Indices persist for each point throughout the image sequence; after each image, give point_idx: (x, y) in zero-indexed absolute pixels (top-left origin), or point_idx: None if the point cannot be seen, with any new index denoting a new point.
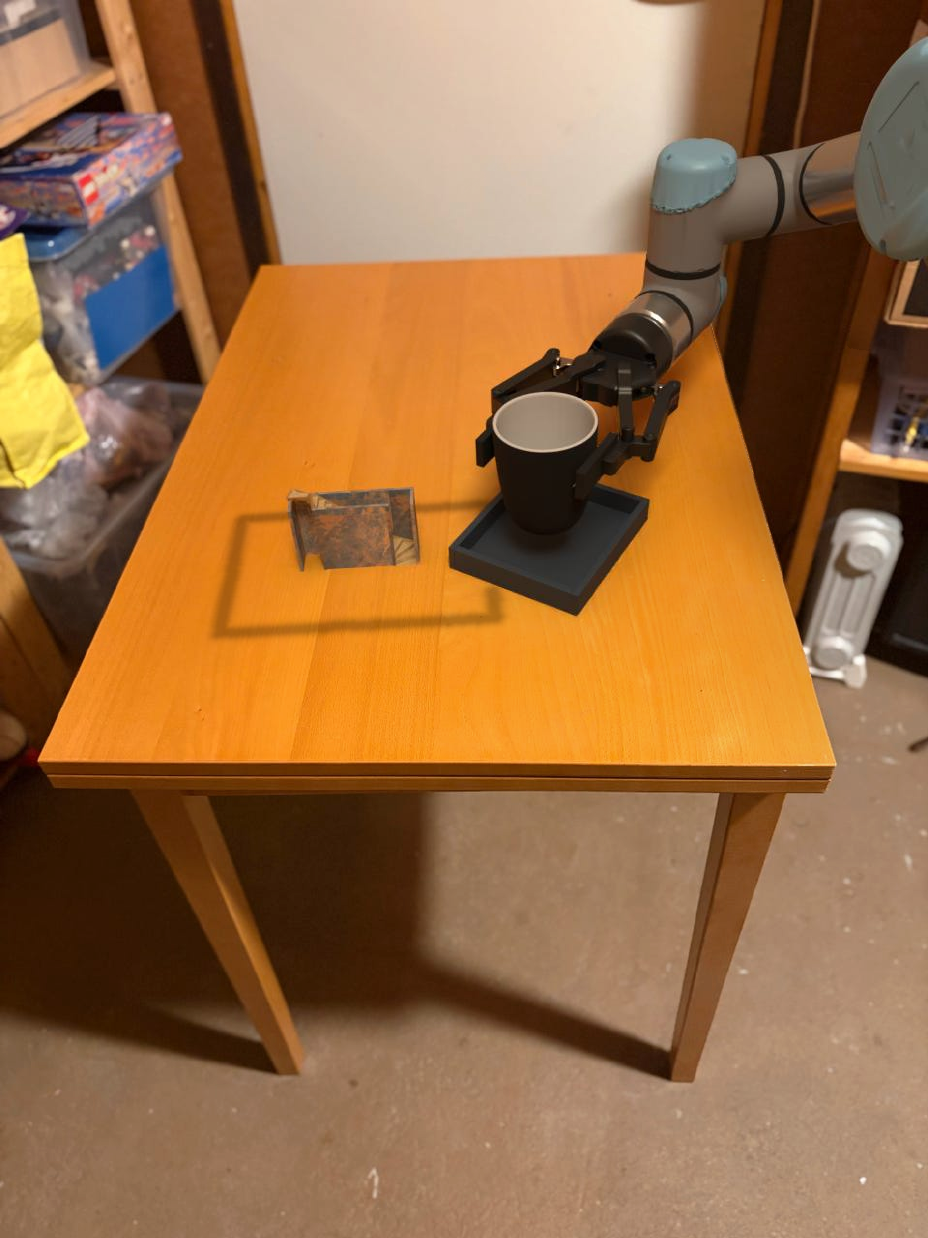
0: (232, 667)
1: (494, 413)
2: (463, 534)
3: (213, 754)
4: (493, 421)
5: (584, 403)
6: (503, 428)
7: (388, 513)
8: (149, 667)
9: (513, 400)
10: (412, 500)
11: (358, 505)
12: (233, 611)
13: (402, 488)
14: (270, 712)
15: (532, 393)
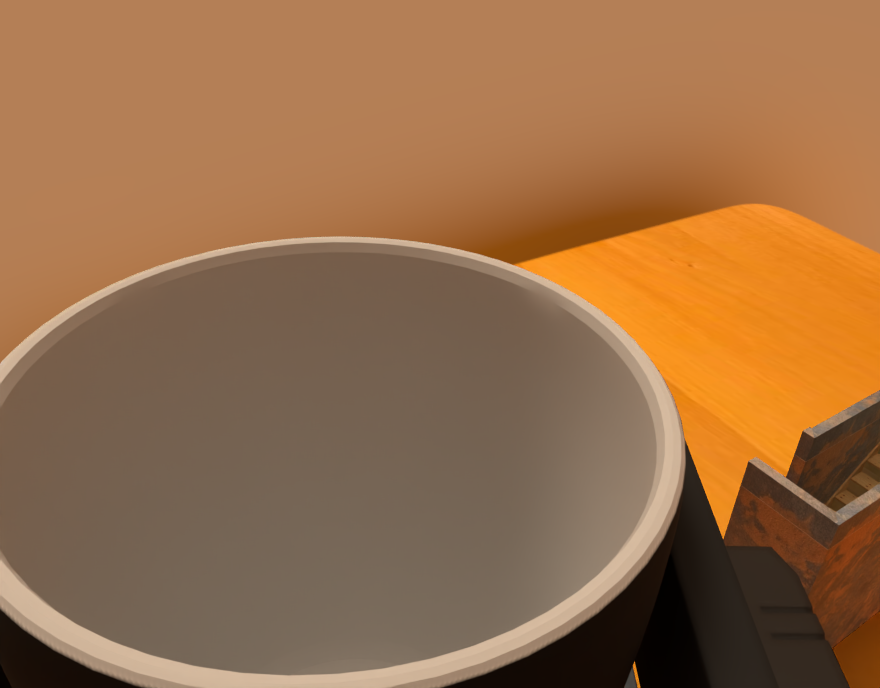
0: (732, 313)
1: (826, 653)
2: (626, 683)
3: (607, 240)
4: (605, 314)
5: (84, 630)
6: (622, 501)
7: (796, 453)
8: (830, 280)
9: (660, 472)
10: (769, 474)
11: (871, 403)
12: (868, 377)
13: (858, 504)
14: (602, 288)
15: (603, 592)
